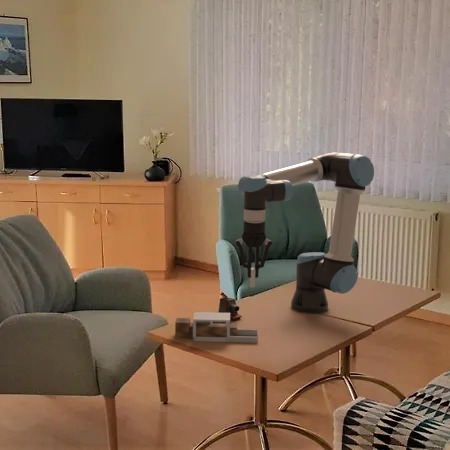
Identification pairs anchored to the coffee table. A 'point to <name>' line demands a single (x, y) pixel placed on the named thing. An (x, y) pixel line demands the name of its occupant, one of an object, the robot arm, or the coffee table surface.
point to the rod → (213, 330)
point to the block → (182, 328)
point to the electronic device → (229, 308)
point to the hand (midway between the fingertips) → (252, 286)
